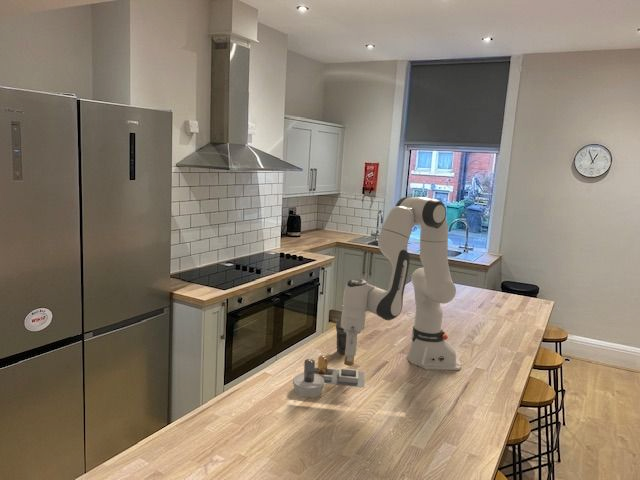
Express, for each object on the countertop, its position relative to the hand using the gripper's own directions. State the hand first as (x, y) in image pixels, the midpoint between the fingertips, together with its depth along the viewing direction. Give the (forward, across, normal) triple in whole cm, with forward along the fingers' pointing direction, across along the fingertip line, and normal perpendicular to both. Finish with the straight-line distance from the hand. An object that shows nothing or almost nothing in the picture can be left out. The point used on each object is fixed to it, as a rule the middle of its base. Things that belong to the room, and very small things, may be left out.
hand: (349, 357), depth 176 cm
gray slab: (+9, 0, +5) cm, 11 cm away
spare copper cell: (+8, 0, +10) cm, 13 cm away
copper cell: (+2, 0, 0) cm, 2 cm away
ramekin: (+10, -12, +14) cm, 21 cm away
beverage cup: (+10, +26, +3) cm, 28 cm away
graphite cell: (+4, -12, +14) cm, 19 cm away
